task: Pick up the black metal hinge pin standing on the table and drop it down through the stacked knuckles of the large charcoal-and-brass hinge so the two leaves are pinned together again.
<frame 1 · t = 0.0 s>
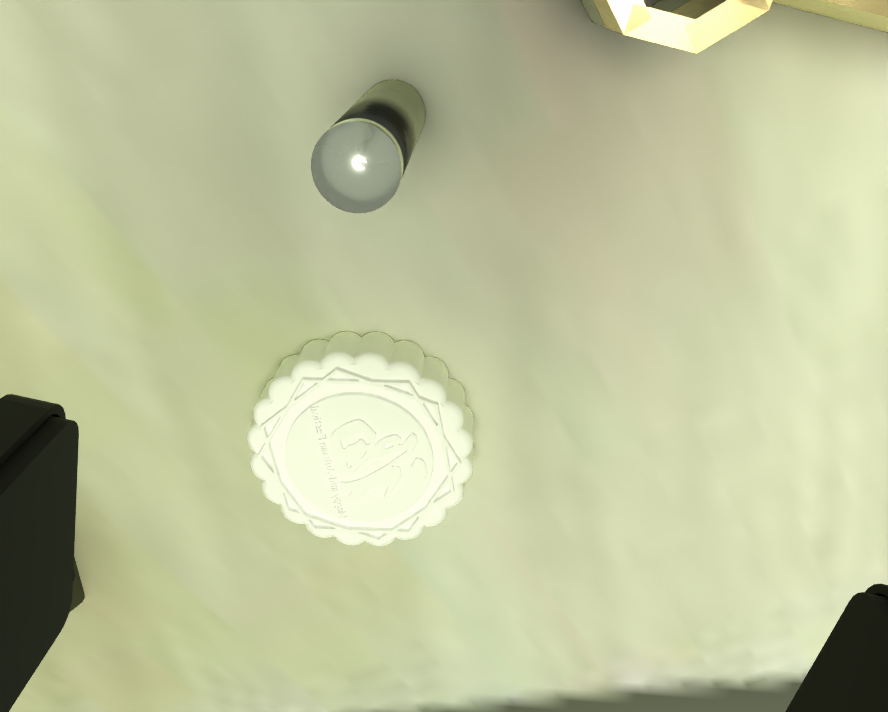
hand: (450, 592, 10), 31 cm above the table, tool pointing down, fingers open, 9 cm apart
mooncake: (367, 425, 45), on the table
hinge pin: (393, 113, 38), on the table
phone stand: (23, 537, 50), on the table
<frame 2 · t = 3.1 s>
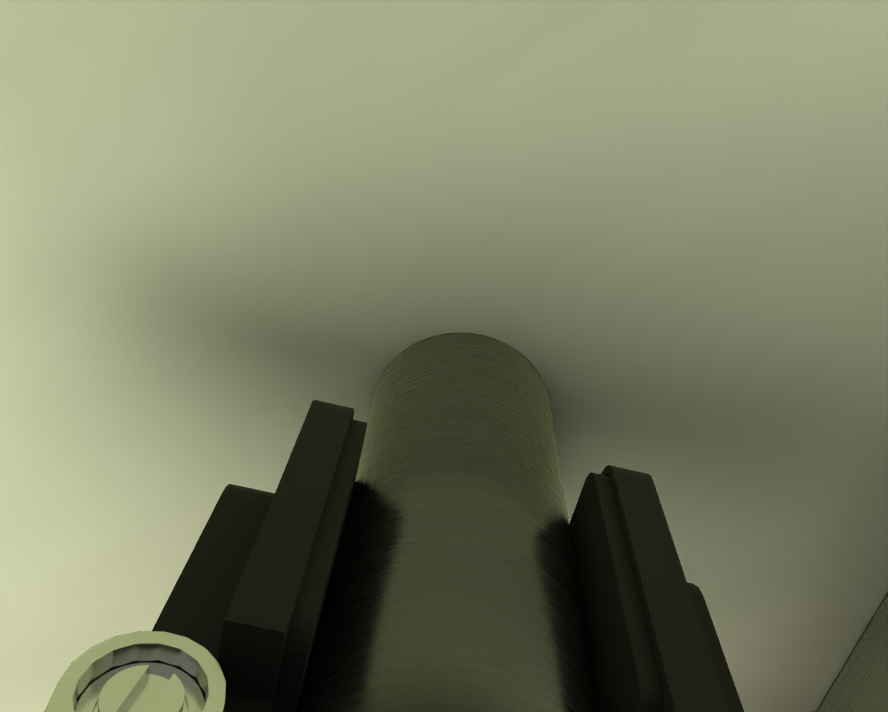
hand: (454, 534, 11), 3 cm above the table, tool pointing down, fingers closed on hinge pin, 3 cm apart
hinge pin: (461, 415, 14), on the table, touching gripper
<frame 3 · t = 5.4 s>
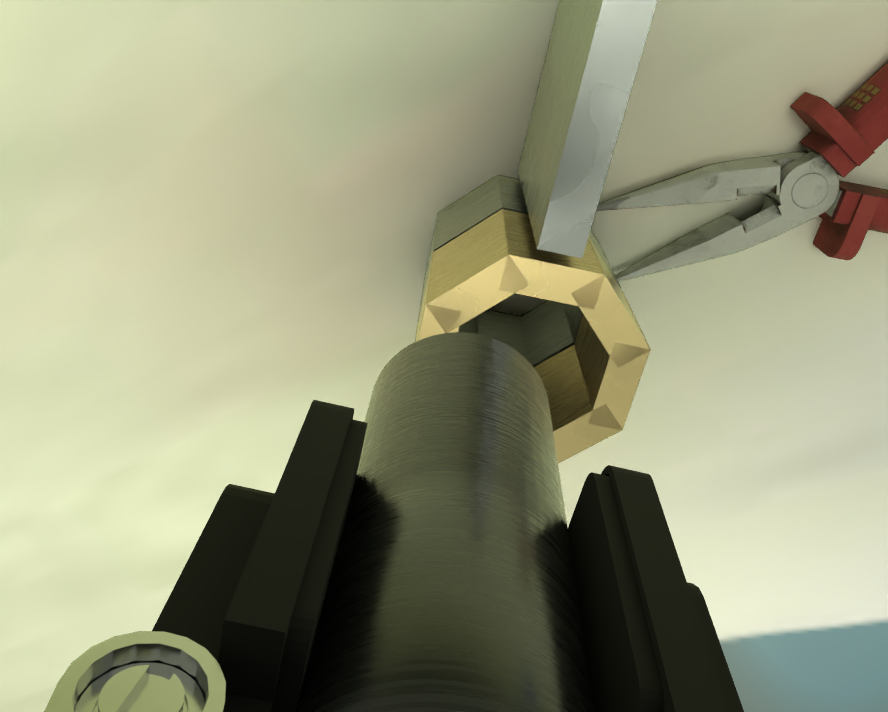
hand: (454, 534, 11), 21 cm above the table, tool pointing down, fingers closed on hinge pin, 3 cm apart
hinge leaf: (486, 429, 28), point 5 cm above the table, hinge at 0.0°
hinge base: (511, 262, 31), on the table
hinge pin: (459, 414, 14), point 17 cm above the table, touching gripper
when the fingers open (10 cm above the table, at t = 7.8 s): hinge pin drops 7 cm, resting in hinge base.
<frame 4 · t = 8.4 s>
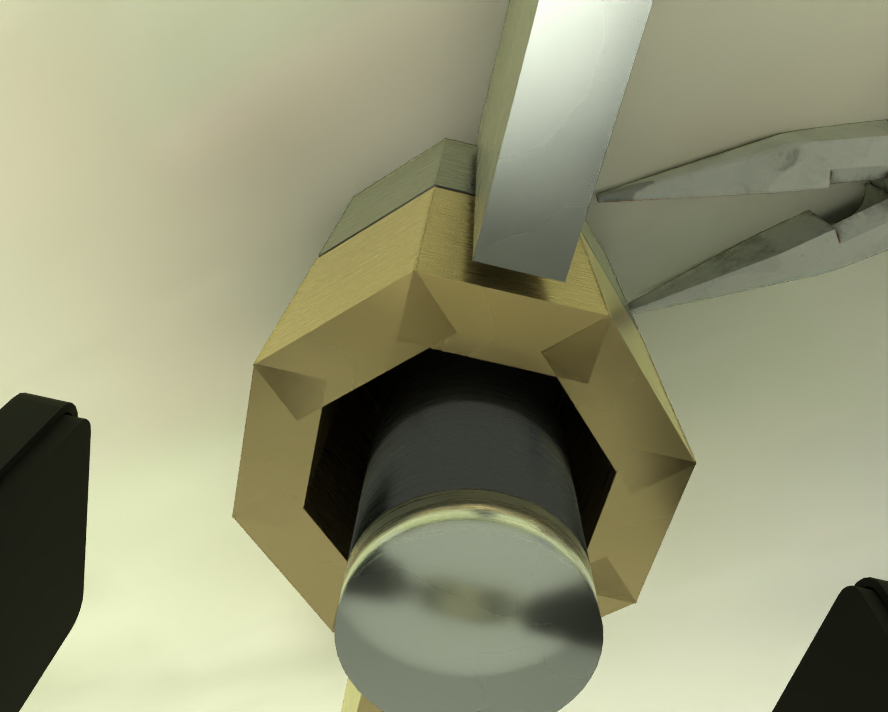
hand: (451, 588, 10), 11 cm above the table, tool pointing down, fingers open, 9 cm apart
hinge leaf: (413, 546, 18), point 5 cm above the table, hinge at 0.0°
hinge base: (468, 275, 20), on the table
hinge pin: (468, 276, 20), resting in hinge base
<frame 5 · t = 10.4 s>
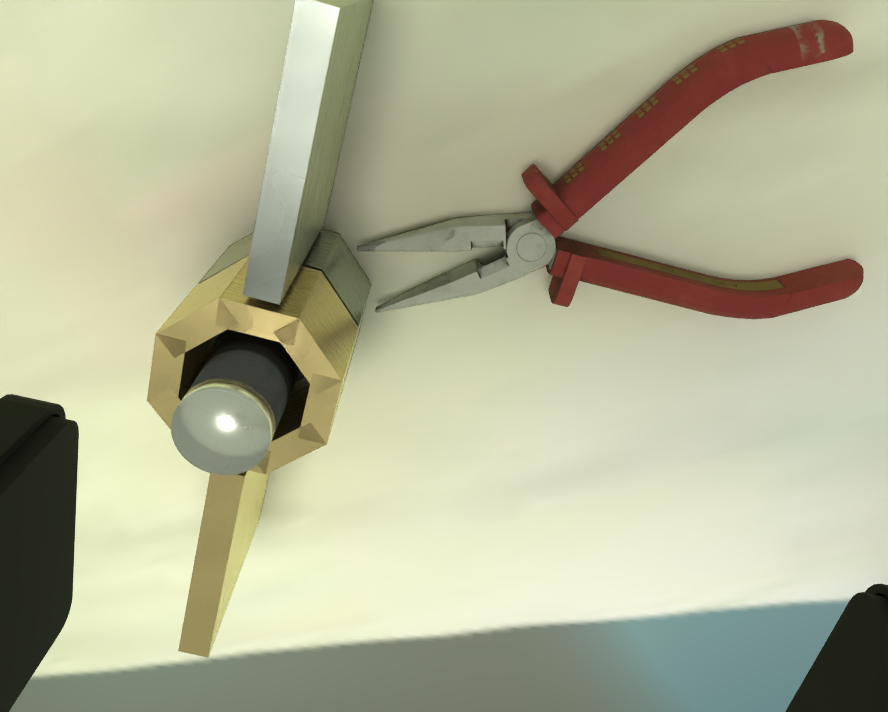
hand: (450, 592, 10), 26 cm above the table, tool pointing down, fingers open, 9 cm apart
hinge leaf: (252, 436, 33), point 5 cm above the table, hinge at 0.0°
hinge base: (295, 291, 35), on the table
pliers: (618, 174, 34), on the table
hinge pin: (295, 292, 35), resting in hinge base
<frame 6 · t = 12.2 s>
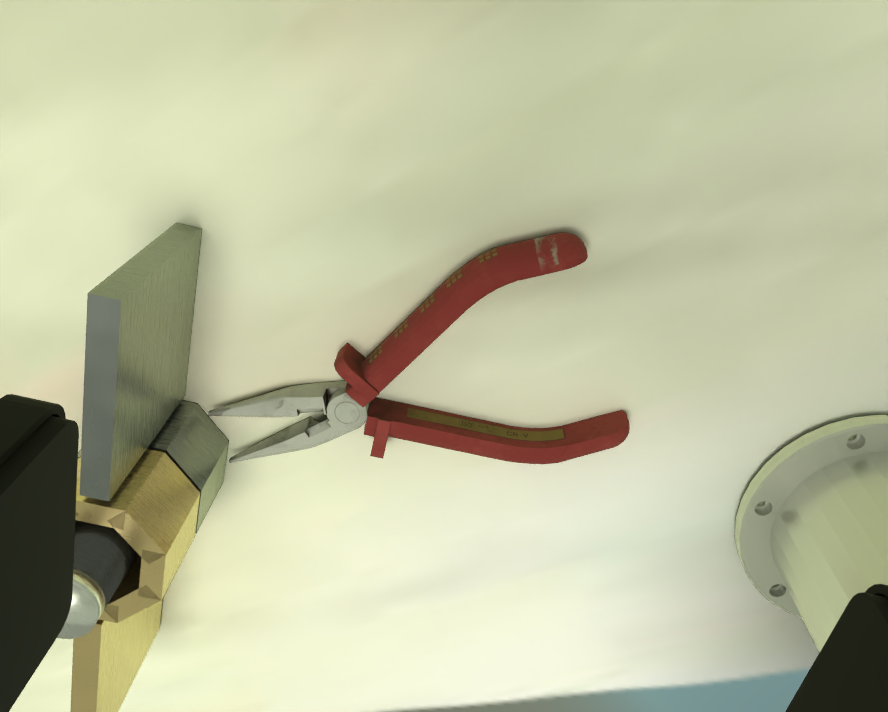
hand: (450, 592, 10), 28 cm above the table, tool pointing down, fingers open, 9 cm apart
hinge leaf: (126, 576, 40), point 5 cm above the table, hinge at 0.0°
hinge base: (167, 448, 43), on the table
pliers: (422, 346, 40), on the table
hinge pin: (167, 448, 43), resting in hinge base
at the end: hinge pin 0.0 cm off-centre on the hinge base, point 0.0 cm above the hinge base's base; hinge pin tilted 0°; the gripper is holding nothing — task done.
